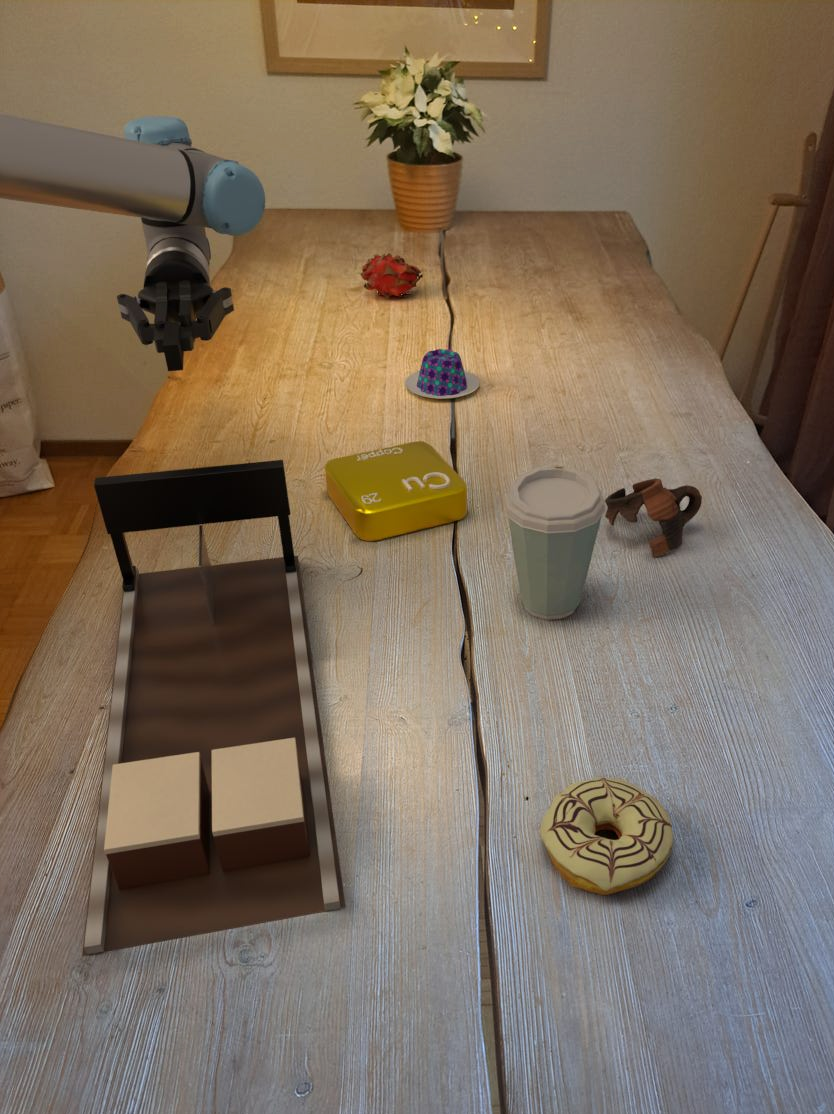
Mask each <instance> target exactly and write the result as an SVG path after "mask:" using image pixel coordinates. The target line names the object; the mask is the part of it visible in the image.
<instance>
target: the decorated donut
mask: <svg viewBox="0 0 834 1114" xmlns="http://www.w3.org/2000/svg"><path fill="white" fill-rule="evenodd" d="M601 830H603V831H609V830H610V831H613V832H614V833H615V834H616V835H617V838H618V839H609V838H606V837H602V836H600V835H596V833H598V832H599V831H601ZM539 835H540V839H541V841H542V842H543V844H544V845H545V848H546V852H547V854H548V856H549V858H550V861H551V863H552V865H553V866H554V868H555V870H556V871H557V873H558V875H560V876H561V878H562V880H564V881H566V882H567V883H568V884H569V885H570V886H571V887H572V888H575V889H582V890H584V891H586V892H590V893H595V894H598V895H602V896H607V895H611V894H615V893H618V892H624V891H626V890H628V889H632V888H635V887H638V886H640V885H642V884H644V883H646V882H648V881H649V880H651V879H652V878H653V877H654V876H655V875H656V874H657V873H658V872H659V871H660V870H661V868H662V867H663V866H664V865H665V864H666V862H667V860H668V859H669V857H670V856H671V851H672V848H673V843H674V833H673V823H672V820H671V818H670V814H669V813H668V812H667V809H666V808H665V807H664V806H663V805H662V804H661V802H659V800H658V799H657V798H655V797H654V796H653V795H651V794H650V793H648V792H646V791H645V790H643V789H641V788H640V787H638V786H637V785H635V784H633V783H631V782H629V781H627V780H624V779H620V778H618V777H617V778H614V777H610V778H607V777H596V778H590V779H587V780H581V781H576V782H573V783H571V784H569V785H567V786H566V787H565V789H564V790H563V792H561V793H560V794H557V795H555V797H553V800H552V802H551V804H550V808H549V809H548V810H547V811H546V813H545V815H544V816H543V818H542V821H541V824H540V828H539Z"/></svg>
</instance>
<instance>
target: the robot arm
mask: <svg viewBox="0 0 834 1114" xmlns="http://www.w3.org/2000/svg"><path fill="white" fill-rule="evenodd" d="M123 135H124V137H120V136H114V135H109V134H105V133H100V132H95V131H89V130H86V129H85V130H84V129H80V128H74V127H69V126H65V125H60V124H55V123H50V122H45V121H40V120H35V119H30V118H25V117H19V116H15V115H10V114H5V113H0V199H1V200H2V199H3V200H9V201H17V202H24V203H32V204H39V205H44V206H45V205H46V206H54V207H62V208H69V209H74V210H84V211H91V212H97V213H105V214H110V215H111V214H112V215H119V216H120V215H121V216H126V217H135V218H140V220H141V226H142V231H143V236H144V240H145V246H146V251H147V259H146V265H145V271H144V280H143V286H142V287H143V288H142V289H141V290H139V291H138V292H137V296H136V295H129V294H127V293H120V294H118V295H116V299H117V304H118V308H119V312H120V316H121V319H122V320H125V321H127V322H129V323H130V325H131V326H132V328H133V331H134V332H135V334H136V336H137V337H138V339H139V341H140V343H141V344H142V345H144V346H149V345H152V344H153V343H154V347H155V350H156V353H158V354H164V358H165V363H166V368H167V372H176V371H179V372H180V371H184V357H185V355H184V354H185V352H192V351H193V350H194V349H195V342H196V339H199V340H201V341H205V342H206V341H207V342H208V341H210V340H212V338H213V337H214V335H215V333H216V332H217V331H218V329H219V327H220V326H221V324H222V322H223V321H224V319H225V318H226V316H228V315H229V314H231V313H232V312H234V311H235V307H234V306H235V305H234V299H233V294H232V288H231V287H227V286H225V287H222V288H220V289H218V290H214V288H213V287H212V286H211V271H210V269H211V268H210V264H211V263H210V261H211V259H212V258H211V257H212V254H211V247H210V241H209V238H208V236H207V233H206V228H207V229H210V230H213V231H214V232H216V233H217V234H221V235H228V236H231V237H242V236H246V235H248V234H250V233H251V232H253V231H254V230H255V229H256V228H257V227H258V225H259V224H260V223H261V222H262V219H263V217H264V213H265V209H266V193H265V189H264V186H263V184H262V182H261V179H260V178H259V177H258V175H256V173H255V172H253V171H252V170H251V169H250V168H248V167H246V166H244V165H243V164H241V163H239V162H238V161H237V160H233V159H226V158H223V157H220V156H217V155H214V154H211V153H209V152H206V151H203V150H201V149H199V148H195V147H193V146H192V144H193V141H192V140H193V139H191V137H190V132H189V129H188V126H187V124H186V122H185V121H184V120H182V119H181V118H179V117H175V116H165V115H164V116H161V115H158V116H157V115H156V116H155V115H154V116H144V117H138V118H135V119H132V120H130V121H128V122H127V123H126V124H125V126H124V128H123ZM145 312H147V313H150V314H152V315H154V319H153V323H150V319H149V318H148V316H147V314H146V313H145Z"/></svg>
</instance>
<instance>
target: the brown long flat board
mask: <svg viewBox="0 0 834 1114" xmlns="http://www.w3.org/2000/svg"><path fill="white" fill-rule="evenodd" d="M294 557H295V565H296V572H288V573H286V571H285V564H284V556H280V557H272V558H263V559H255V560H254V559H253V560H246V561H245V560H244V561H237V562H228V563H222V564H221V563H220V564H210V565H211V570H212V575H213V580H214V624H211V620H210V615H209V610H208V606H207V601H206V597H205V592H204V587H203V583H202V578H201V574H200V569H199V566H194V567H186V568H185V567H184V568H176V569H168V570H158V571H151V572H141V573H140V571H139V568H138V567H139V566H136V565H135V566H136V570H137V571H136V581H135V590H134V591H126V592H124V591H123V590H122V597H121V598H122V600H121V608H120V615H119V627H118V632H117V633H118V635H117V643H116V652H115V661H114V668H113V677H112V678H113V679H112V687H111V694H110V695H111V697H110V704H109V705H110V706H109V712H108V713H109V714H108V723H107V730H106V740H105V748H104V757H103V765H102V774H101V776H102V777H101V784H100V793H99V804H98V812H97V818H96V827H95V828H96V829H95V837H94V845H93V846H94V847H93V855H92V857H93V858H92V863H91V864H92V865H91V872H90V882H89V891H88V898H87V907H86V908H87V909H86V915H85V926H84V934H83V943H82V952H81V953H82V954H81V957H86V956H91V955H96V954H103V953H108V952H114V951H120V950H123V949H129V948H135V947H141V946H147V945H151V944H156V943H162V942H168V941H172V940H173V941H174V940H178V939H183V938H189V937H195V936H201V935H206V934H210V933H212V934H213V933H216V932H223V931H228V930H234V929H239V928H244V927H249V926H255V925H260V924H266V923H271V922H278V921H282V920H287V919H292V918H298V917H304V916H310V915H315V914H321V913H326V912H327V913H328V912H333V911H337V910H341V909H346V899H345V893H344V892H345V891H344V885H343V879H342V878H343V877H342V871H341V863H340V856H339V847H338V842H337V834H336V833H337V832H336V827H335V819H334V812H333V804H332V797H331V789H330V781H329V775H328V768H327V767H328V766H327V759H326V751H325V746H324V739H323V731H322V723H321V716H320V708H319V702H318V694H317V687H316V680H315V673H314V664H313V655H312V650H311V642H310V634H309V626H308V620H307V613H306V606H305V599H304V590H303V582H302V576H301V568H300V562H299V561H300V560H299V556H298V555H294ZM288 738H295V740H296V746H297V752H298V758H299V765H300V771H301V777H302V786H303V796H304V805H305V814H306V824H307V833H308V842H309V852H310V856H309V857H304V858H298V859H292V860H286V861H280V862H275V863H269V864H263V865H257V866H251V867H246V868H240V869H234V870H228V871H223V870H222V867H221V863H220V859H219V856H218V852H217V848H216V844H215V840H214V836H213V833H212V750H214V749H221V748H228V747H235V746H241V745H248V744H255V743H261V742H268V741H275V740H282V739H288ZM195 752H199V753H200V757H201V761H202V764H203V768H204V772H205V776H206V780H207V784H208V788H209V814H210V874H206V875H200V876H194V877H188V878H183V879H177V880H171V881H165V882H159V883H154V884H148V885H142V886H136V887H130V888H124V889H119V887H118V885H117V882H116V880H115V877H114V874H113V872H112V869H111V867H110V864H109V861H108V859H107V856H106V853H105V851H104V845H105V835H106V825H107V816H108V806H109V796H110V787H111V777H112V767H113V765H114V764H121V763H127V762H134V761H141V760H148V759H154V758H161V757H168V756H174V755H181V754H188V753H195Z"/></svg>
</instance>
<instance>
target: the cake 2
mask: <svg viewBox="0 0 834 1114" xmlns="http://www.w3.org/2000/svg"><path fill="white" fill-rule="evenodd" d="M212 833H213V836H214V840H215V844H216V848H217V852H218V856H219V859H220V863H221V867H222V870H223V871H228V870H234V869H240V868H246V867H251V866H257V865H263V864H269V863H275V862H280V861H286V860H292V859H298V858H304V857H309V856H310V852H309V842H308V833H307V824H306V814H305V805H304V796H303V786H302V777H301V771H300V765H299V758H298V752H297V746H296V740H295V738H288V739H282V740H275V741H268V742H261V743H255V744H248V745H241V746H235V747H228V748H221V749H214V750H212Z"/></svg>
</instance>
